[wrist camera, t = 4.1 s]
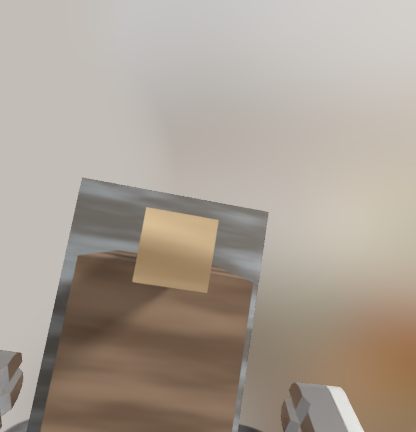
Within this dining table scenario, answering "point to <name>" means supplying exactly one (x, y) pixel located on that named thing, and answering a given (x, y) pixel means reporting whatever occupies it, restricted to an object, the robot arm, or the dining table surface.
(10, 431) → the dining table surface
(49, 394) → the brown tall block
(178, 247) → the light wooden bar
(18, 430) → the dining table surface
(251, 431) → the dining table surface
